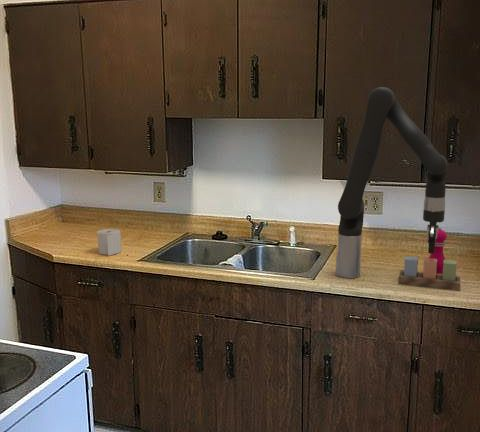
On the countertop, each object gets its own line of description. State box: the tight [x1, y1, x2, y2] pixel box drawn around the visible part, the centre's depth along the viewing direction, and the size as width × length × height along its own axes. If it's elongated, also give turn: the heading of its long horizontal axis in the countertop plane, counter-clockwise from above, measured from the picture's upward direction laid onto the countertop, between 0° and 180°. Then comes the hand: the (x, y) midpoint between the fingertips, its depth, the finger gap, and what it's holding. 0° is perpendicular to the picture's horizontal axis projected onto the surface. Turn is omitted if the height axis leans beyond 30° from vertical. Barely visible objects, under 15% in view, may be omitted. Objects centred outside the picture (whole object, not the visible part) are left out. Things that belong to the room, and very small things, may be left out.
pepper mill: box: [428, 225, 447, 274], centre depth 219 cm, size 7×7×20 cm
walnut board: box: [397, 269, 461, 292], centre depth 209 cm, size 22×9×3 cm, turn 68°
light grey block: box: [96, 228, 122, 257], centre depth 255 cm, size 11×12×10 cm
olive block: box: [442, 259, 458, 281], centre depth 206 cm, size 5×5×7 cm
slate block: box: [403, 256, 419, 277], centre depth 211 cm, size 5×5×7 cm
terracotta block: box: [422, 257, 437, 279], centre depth 208 cm, size 5×5×7 cm
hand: (431, 252), depth 207 cm, fingers closed
